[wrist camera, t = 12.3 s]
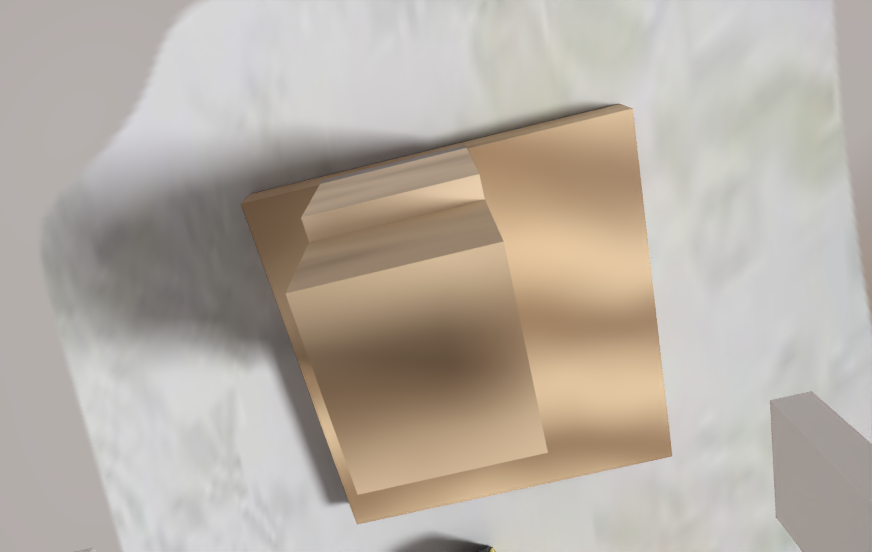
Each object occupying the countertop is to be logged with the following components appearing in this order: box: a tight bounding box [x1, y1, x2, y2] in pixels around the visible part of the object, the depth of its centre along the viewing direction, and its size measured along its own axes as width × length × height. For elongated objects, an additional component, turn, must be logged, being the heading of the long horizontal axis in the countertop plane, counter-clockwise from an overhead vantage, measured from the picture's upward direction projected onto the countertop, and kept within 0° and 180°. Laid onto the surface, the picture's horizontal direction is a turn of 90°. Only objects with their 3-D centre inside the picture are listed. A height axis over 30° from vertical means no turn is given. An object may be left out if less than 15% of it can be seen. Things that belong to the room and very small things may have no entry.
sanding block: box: [285, 145, 548, 495], centre depth 21 cm, size 8×6×9 cm
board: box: [241, 104, 672, 524], centre depth 27 cm, size 16×15×2 cm
